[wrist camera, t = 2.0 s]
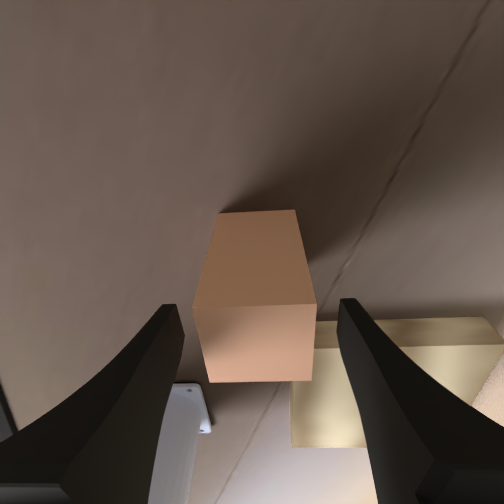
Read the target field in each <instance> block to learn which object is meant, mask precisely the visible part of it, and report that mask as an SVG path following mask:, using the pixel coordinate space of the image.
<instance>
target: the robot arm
mask: <svg viewBox="0 0 504 504" xmlns="http://www.w3.org/2000/svg"><path fill="white" fill-rule="evenodd" d="M336 333H337V339H338V344H339V349H340V353H341V357H342V360H343V363H344V366H345V369H346V373H347V376H348V379H349V382H350V385H351V388H352V391H353V394H354V397H355V400H356V403H357V407H358V410H359V414H360V418H361V422H362V427H363V431H364V435H365V440H366V445H367V449H368V454H369V459H370V464H371V468H372V474H373V479H374V484H375V489H376V494H377V499H378V504H504V427H503V426H501V425H499V424H498V423H496V422H494V421H493V420H491V419H490V418H488V417H487V416H485V415H484V414H482V413H481V412H479V411H478V410H476V409H475V408H473V407H472V406H470V405H469V404H467V403H466V402H464V401H463V400H462V399H460V398H459V397H457V396H456V395H455V394H453V393H452V392H451V391H449V390H448V389H447V388H445V387H444V386H443V385H441V384H440V383H439V382H437V381H436V380H435V379H434V378H432V377H431V376H430V375H429V374H428V373H426V372H425V371H424V370H423V369H422V368H421V367H419V366H418V365H417V364H416V363H415V362H414V361H413V360H412V359H410V358H409V357H408V356H407V355H406V354H405V353H404V352H403V351H402V350H401V349H400V348H399V347H398V346H397V345H396V344H395V343H394V342H393V341H392V340H391V339H390V338H389V337H388V336H387V334H386V333H385V332H384V331H383V330H382V329H381V328H380V327H379V326H378V325H377V324H376V322H375V321H374V320H373V319H372V318H371V317H370V315H369V314H368V313H367V312H366V311H365V309H364V308H363V307H362V306H361V304H360V303H359V302H358V301H357V300H356V299H355V298H344V299H340V306H339V314H338V321H337V329H336ZM184 338H185V334H184V331H183V327H182V324H181V320H180V317H179V313H178V309H177V306H176V304H162V306H161V307H160V308H159V309H158V310H157V311H156V312H155V314H154V315H153V316H152V317H151V318H150V319H149V321H148V322H147V323H146V324H145V325H144V326H143V328H142V329H141V330H140V331H139V332H138V333H137V334H136V335H135V337H134V338H133V339H132V340H131V341H130V342H129V343H128V344H127V345H126V346H125V347H124V348H123V349H122V350H121V351H120V353H119V354H118V355H117V356H116V357H115V358H114V359H113V360H112V361H111V362H110V363H108V364H107V365H106V366H105V367H104V368H103V369H102V370H101V371H100V372H99V373H98V374H96V375H95V376H94V377H93V378H92V379H91V380H89V381H88V382H87V383H86V384H85V385H83V386H82V387H81V388H79V389H78V390H77V391H76V392H74V393H73V394H72V395H71V396H69V397H68V398H67V399H65V400H64V401H63V402H61V403H60V404H59V405H57V406H56V407H54V408H53V409H52V410H50V411H49V412H47V413H46V414H44V415H43V416H42V417H40V418H39V419H37V420H36V421H34V422H33V423H31V424H29V425H28V426H26V427H25V428H23V429H21V430H20V431H18V432H17V433H15V434H13V435H12V436H10V437H9V438H7V439H5V440H4V441H2V442H0V504H188V499H189V493H190V487H191V481H192V475H193V469H194V463H195V457H196V451H197V445H198V439H199V433H210V432H211V429H212V426H211V423H210V419H209V415H208V412H207V408H206V404H205V401H204V397H203V393H202V390H201V386H200V385H199V384H196V383H187V384H173V383H174V379H175V376H176V373H177V369H178V366H179V363H180V359H181V355H182V350H183V344H184Z"/></svg>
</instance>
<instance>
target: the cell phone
mask: <svg viewBox="0 0 504 504" xmlns="http://www.w3.org/2000/svg"><path fill="white" fill-rule="evenodd" d="M15 433H17V429H16V427H15V424H14V421H13V419H12V416H11V413H10V411H9V408H8V405H7V403H6V400H5V397H4V395H3V392H2V390H1V387H0V442H2V441H4V440H5V439H7V438H9V437H10V436H12V435H13V434H15Z"/></svg>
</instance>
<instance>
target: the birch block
mask: <svg viewBox="0 0 504 504" xmlns="http://www.w3.org/2000/svg"><path fill="white" fill-rule="evenodd" d="M374 321H375V322H376V324H377V325H378V326H379V327H380V328H381V329H382V330H383V331H384V332H385V333H386V334H387V336H388V337H389V338H390V339H391V340H392V341H393V342H394V343H395V344H396V345H397V346H398V347H399V348H400V349H401V350H402V351H403V352H404V353H405V354H406V355H407V356H408V357H409V358H410V359H412V360H413V361H414V362H415V363H416V364H417V365H418V366H419V367H421V368H422V369H423V370H424V371H425V372H426V373H428V374H429V375H430V376H431V377H432V378H434V379H435V380H436V381H437V382H439V383H440V384H441V385H443V386H444V387H445V388H447V389H448V390H449V391H451V392H452V393H453V394H455V395H456V396H457V397H459V398H460V399H462V400H463V401H464V402H466V403H467V404H469V405H470V406H471V405H472V404H473V402H474V400H475V399H476V397H477V395H478V394H479V392H480V390H481V389H482V387H483V385H484V384H485V382H486V380H487V379H488V377H489V375H490V374H491V372H492V370H493V369H494V367H495V365H496V364H497V362H498V360H499V359H500V357H501V355H502V354H503V352H504V339H503V338H502V337H501V336H500V335H499V333H498V332H497V331H496V330H495V329H494V328H493V327H492V325H491V324H490V323H489V322H488V321H487V320H486V319H485V317H453V318H419V319H385V320H374ZM336 329H337V321H317V322H316V324H315V338H314V353H313V368H312V381H290V430H291V442H292V448H367V445H366V440H365V435H364V431H363V427H362V422H361V418H360V414H359V410H358V407H357V403H356V400H355V397H354V394H353V391H352V388H351V385H350V382H349V379H348V376H347V373H346V369H345V366H344V363H343V360H342V357H341V353H340V349H339V344H338V339H337V333H336Z"/></svg>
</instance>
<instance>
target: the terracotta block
mask: <svg viewBox="0 0 504 504" xmlns="http://www.w3.org/2000/svg"><path fill="white" fill-rule="evenodd" d="M316 309H317V302H316V298H315V294H314V290H313V285H312V281H311V277H310V272H309V268H308V264H307V260H306V255H305V251H304V247H303V243H302V238H301V234H300V230H299V226H298V221H297V217H296V213H295V209H294V210H275V211H256V212H236V213H218V216H217V220H216V223H215V227H214V231H213V234H212V238H211V241H210V245H209V248H208V252H207V256H206V259H205V263H204V266H203V270H202V273H201V277H200V280H199V284H198V288H197V291H196V295H195V298H194V302H193V305H192V311H193V315H194V320H195V324H196V328H197V332H198V336H199V340H200V344H201V349H202V353H203V357H204V361H205V365H206V369H207V373H208V377H209V382H210V383H213V382H266V381H312V368H313V353H314V338H315V324H316Z"/></svg>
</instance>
